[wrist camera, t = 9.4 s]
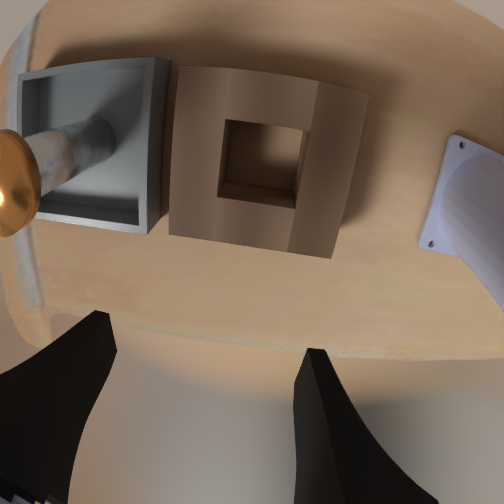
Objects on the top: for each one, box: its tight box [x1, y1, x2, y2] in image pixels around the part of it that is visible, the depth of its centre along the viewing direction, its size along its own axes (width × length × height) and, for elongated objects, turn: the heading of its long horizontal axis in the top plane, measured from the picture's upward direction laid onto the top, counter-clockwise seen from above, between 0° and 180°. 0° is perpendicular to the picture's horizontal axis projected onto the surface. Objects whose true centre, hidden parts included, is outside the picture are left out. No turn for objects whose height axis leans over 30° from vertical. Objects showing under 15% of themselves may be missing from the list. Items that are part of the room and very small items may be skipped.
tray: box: [17, 57, 171, 235], centre depth 16 cm, size 10×10×2 cm
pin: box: [0, 118, 116, 237], centre depth 13 cm, size 4×4×9 cm
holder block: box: [169, 66, 370, 259], centre depth 16 cm, size 9×9×3 cm
